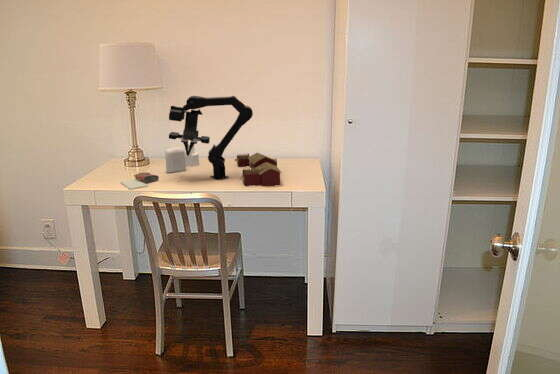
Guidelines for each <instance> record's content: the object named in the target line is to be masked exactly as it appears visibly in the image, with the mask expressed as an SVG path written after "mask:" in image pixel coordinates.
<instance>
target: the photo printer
mask: <svg viewBox="0 0 560 374" xmlns="http://www.w3.org/2000/svg"><path fill="white" fill-rule="evenodd" d="M164 154H165V155H164V157H165V170H166V173H167V174H170V173H176V172H183V171H186V170H187V168H186V164H185V148H183V147H178V146H177V147H170V148H168V149H166V150H165V152H164Z"/></svg>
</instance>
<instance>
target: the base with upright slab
mask: <svg viewBox="0 0 560 374" xmlns="http://www.w3.org/2000/svg"><path fill="white" fill-rule="evenodd" d="M190 142H191V141H190V140H188V151H189V146H190ZM184 151H185V164H186V167H187V168H188V167H189V168H190V167H191V168H192V167H197V166H199V165H200V157H199V156H200V155H199V152H197V151H196V152H195V145H194V146H193V147H192V149H191V152H190V154H189V156H187V154H186V149H185V148H184Z"/></svg>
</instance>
